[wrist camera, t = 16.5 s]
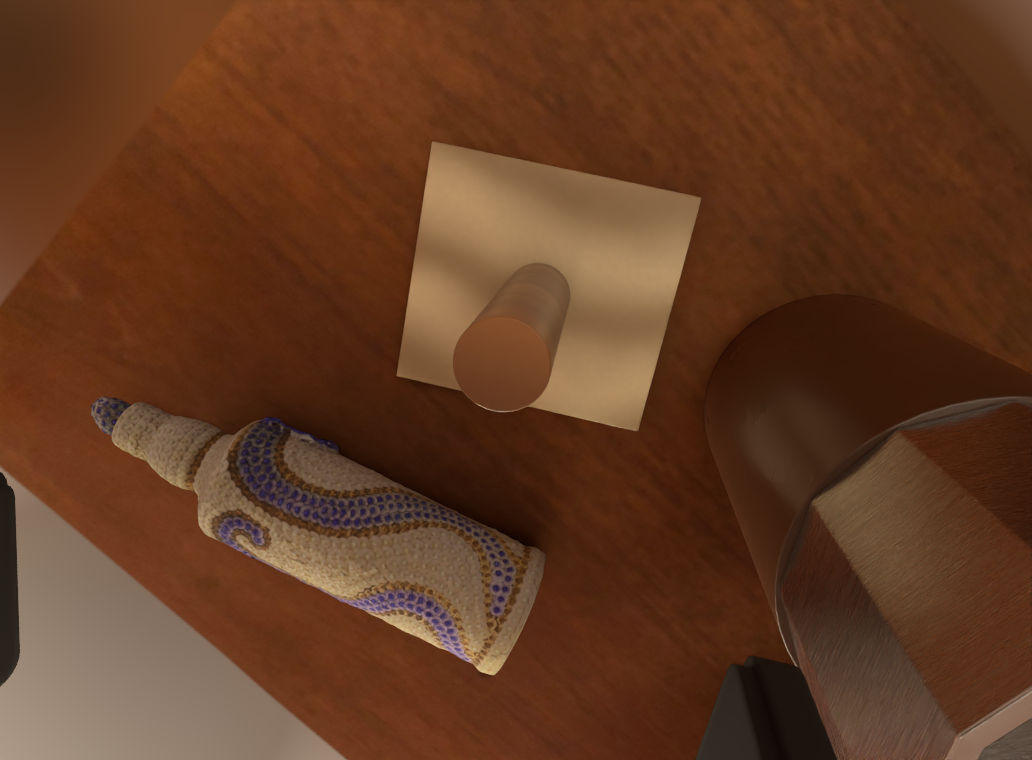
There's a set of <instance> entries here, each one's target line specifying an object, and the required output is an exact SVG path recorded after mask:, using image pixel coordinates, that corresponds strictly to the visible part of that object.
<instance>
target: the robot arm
mask: <svg viewBox="0 0 1032 760" xmlns="http://www.w3.org/2000/svg"><path fill="white" fill-rule="evenodd" d="M15 517H16V516H15V495H14V491H13V489H12V488H11V487H10V486H8V485H7V480H6V478H5V477H4V475H3V473H1V472H0V686H1V685H2V684H3V683H4V682H5V681H6V680H7V679H8V678H9V677H10V675H11V674H12V672H13V671H14V669H15V667H16V665H17V662H18V659H19V653H20V643H19V615H18V613H19V612H18V580H17V548H16V518H15ZM695 760H837V757H836V755H835V752H834V750H833V747H832V745H831V742H830V740H829V737H828V734H827V732H826V729H825V727H824V724H823V722H822V719H821V717H820V714H819V712H818V709H817V707H816V704H815V702H814V699H813V696H812V694H811V691H810V689H809V686H808V684H807V681H806V679H805V676H804V674H803V672H802V671H801V669H800V668H798V667H797V666H793V665H789V664H785V663H781V662H777V661H773V660H769V659H765V658H761V657H757V656H749V657H748V658H747V660H746V661H745V663H744V665H743V666H741V665H737V664H731V666H730V667H729V668H728V670H727V673H726V675H725V678H724V681H723V683H722V686H721V689H720V692H719V695H718V697H717V700H716V703H715V706H714V709H713V711H712V714H711V717H710V720H709V722H708V725H707V728H706V731H705V734H704V736H703V739H702V742H701V745H700V748H699V750H698V753H697V756H696V759H695Z"/></svg>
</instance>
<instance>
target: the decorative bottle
mask: <svg viewBox="0 0 1032 760" xmlns="http://www.w3.org/2000/svg"><path fill="white" fill-rule="evenodd" d="M91 409H92V413H91V415H92V417H93V418H94V420H95V421H96V423H97V425H98V426H99V427H100V429H101V430H102V431H103V432H104V433H107V434H110V435H112V441H113V443H114V444H115V445H116V446H118V447H119V448H120V449H122V450H123V451H126V452H129V453H130V454H132V455H133V456H135V457H138V458H140V459H143V460H145V461H147V462H148V463H149V465H150V466H151V467H152V468H153V469H154V470H155V471H156V472H157V473H158V474H159V475H160V476H161V477H163V478H164V479H166V480H167V481H169V482H170V483H171V484H173V485H175V486H177V487H180V488H182V489H186V490H191V491H195V492H196V494H197V495H198V502H199V504H198V521H199V526H200V528H201V529H202V530H203V532H204V533H205V534H206V535H207V536H210V537H212V538H214V539H216V540H218V541H221V542H223V543H225V544H227V545H229V546H231V547H233V548H234V549H236V550H239V551H241V552H243V553H244V554H246V555H248V556H250V557H252V558H254V559H257V560H259V561H262V562H264V563H266V564H268V565H270V566H272V567H274V568H276V569H277V570H279V571H281V572H284V573H286V574H289V575H291V576H294V577H296V578H297V579H298V580H300V581H302V582H304V583H306V584H309V585H311V586H314V587H316V588H318V589H320V590H321V591H323V592H325V593H328V594H330V595H331V596H333V597H335V598H336V599H338V600H340V601H341V602H347V603H348V604H350V605H352V606H354V607H356V608H360V609H363V610H365V611H366V612H368V613H370V614H371V615H373V616H376V617H379V618H381V619H383V620H385V621H386V622H387V623H389V624H392V625H394V626H396V627H397V628H399V629H401V630H403V631H405V632H409V633H410V634H411V635H414V636H417V637H419V638H421V639H423V640H425V641H427V642H429V643H431V644H433V645H435V646H437V647H438V648H442V649H445V650H448V651H450V652H451V653H453V654H455V655H456V656H458V657H459V658H461V659H463V660H465V661H468V662H470V663H472V664H473V665H474V666H475V667H476V668H477V669H478V670H479V671H480V672H483V673H486V674H489V675H495V674H496V673H497V672H498V671H499V669H500V668H501V667H502V665H503V664H504V662H505V660H506V659H507V657H508V655H509V654H510V652H511V650H512V648H513V646H514V645H515V643H516V641H517V639H518V637H519V635H520V633H521V631H522V629H523V626H524V624H525V622H526V620H527V618H528V616H529V613H530V611H531V608H532V606H533V603H534V601H535V598H536V595H537V592H538V589H539V586H540V583H541V580H542V577H543V570H544V564H545V559H546V554H544V553H543V552H542V551H540V550H539V549H537V548H536V547H530V546H524V545H522V544H521V543H519V542H518V541H517V540H513V539H512V538H510V537H508V536H507V535H505V534H502V533H499V532H498V531H497V530H496V529H493V528H489V527H487V526H485V525H483V524H481V523H479V522H477V521H474V520H472V519H470V518H468V517H466V516H464V515H461V514H459V513H458V512H457V511H455V510H452V509H450V508H447V507H445V506H443V505H441V504H439V503H437V502H435V501H433V500H431V499H429V498H427V497H425V496H423V495H421V494H419V493H418V492H415V491H413V490H411V489H409V488H406V487H404V486H402V485H401V484H399V483H396V482H394V481H392V480H390V479H388V478H386V477H384V476H383V475H381V474H379V473H377V472H375V471H374V470H371V469H369V468H366V467H364V466H362V465H360V464H358V463H356V462H354V461H352V460H350V459H348V458H346V457H344V456H341V455H339V447H338V446H337V445H336V444H334V443H333V442H332V441H327V440H323V439H316V438H315V437H314V436H313V435H312V434H309V433H305V432H301V431H299V430H297V429H294V428H292V427H290V426H288V425H285V424H284V423H283V422H282V421H281V420H280V419H278V418H271V417H266V418H265V419H263V420H257V421H255V422H252V423H250V424H249V425H247V426H246V427H244V428H242V429H241V430H239V431H238V432H237V433H236V434H235V435H230V434H226V433H225V432H223V431H222V430H221V429H219V428H218V427H216V426H214V425H211V424H209V423H207V422H204V421H201V420H197V419H192V418H186V417H182V416H173V415H171V414H169V413H167V412H165V411H163V410H161V409H159V408H157V407H155V406H153V405H149V404H146V403H143V402H138V403H134V404H133V405H130V404H128V403H126V402H124V401H122V400H120V399H117V398H110V397H101V398H100V399H98V400H96V401H95V402H94V403H93V404H92V406H91ZM274 422H275V423H274ZM289 429H290V430H289Z"/></svg>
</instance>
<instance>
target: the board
mask: <svg viewBox="0 0 1032 760" xmlns="http://www.w3.org/2000/svg"><path fill="white" fill-rule="evenodd" d="M701 199H702V198H701V197H698V196H694V195H689V194H684V193H679V192H675V191H670V190H665V189H660V188H656V187H651V186H646V185H641V184H636V183H632V182H627V181H622V180H617V179H613V178H608V177H603V176H598V175H594V174H589V173H584V172H579V171H574V170H570V169H565V168H560V167H555V166H551V165H546V164H541V163H536V162H531V161H527V160H522V159H517V158H512V157H508V156H503V155H498V154H493V153H488V152H484V151H479V150H474V149H469V148H465V147H460V146H455V145H450V144H445V143H441V142H435V141H432V145H431V151H430V158H429V164H428V171H427V178H426V184H425V191H424V197H423V204H422V211H421V217H420V224H419V230H418V237H417V244H416V250H415V257H414V263H413V270H412V277H411V283H410V290H409V296H408V303H407V310H406V316H405V323H404V329H403V336H402V343H401V349H400V356H399V362H398V369H397V376H398V377H402V378H407V379H411V380H416V381H420V382H424V383H429V384H433V385H437V386H442V387H446V388H450V389H455V390H459V391H462V390H461V388H460V387H459V385H458V383H457V381H456V378H455V375H454V370H453V354H454V350H455V347H456V344H457V342H458V340H459V338H460V337H461V335H462V334H463V333H464V331H465V330H466V329H467V328H468V327H469V326H470V324H471V323H472V322H473V321H474V320H475V319H476V317H477V316H478V315H479V314H480V313H481V311H482V310H483V309H484V308H485V307H486V306H487V304H488V303H489V302H490V301H491V300H492V299H493V297H494V296H495V295H496V294H497V293H498V292H499V290H500V289H501V288H502V287H503V286H504V285H505V283H506V282H507V281H508V280H509V279H510V278H511V276H512V275H513V274H514V273H515V272H516V271H517V270H518V269H520V268H521V267H523V266H525V265H528V264H532V263H543V264H547V265H550V266H552V267H554V268H556V269H557V270H558V271H560V272H561V273H562V274H563V276H564V277H565V279H566V281H567V283H568V285H569V289H570V301H569V306H568V310H567V313H566V317H565V321H564V325H563V329H562V333H561V337H560V341H559V345H558V348H557V352H556V356H555V360H554V364H553V368H552V372H551V376H550V379H549V382H548V384H547V387H546V389H545V390H544V392H543V393H542V394H541V396H540V397H539V398H538V399H537V400H536V401H535V402H533V403H532V404H530V405H529V407H533V408H538V409H542V410H546V411H551V412H555V413H559V414H564V415H568V416H572V417H577V418H581V419H585V420H590V421H594V422H599V423H603V424H607V425H612V426H616V427H620V428H625V429H629V430H633V431H638V430H639V426H640V422H641V419H642V415H643V411H644V408H645V404H646V400H647V397H648V393H649V389H650V386H651V382H652V378H653V375H654V371H655V367H656V364H657V360H658V356H659V353H660V349H661V345H662V342H663V338H664V334H665V331H666V327H667V323H668V320H669V316H670V313H671V309H672V305H673V302H674V298H675V294H676V291H677V287H678V283H679V280H680V276H681V272H682V269H683V265H684V261H685V258H686V254H687V250H688V247H689V243H690V239H691V236H692V232H693V228H694V225H695V221H696V217H697V214H698V210H699V206H700V203H701Z"/></svg>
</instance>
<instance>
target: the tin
mask: <svg viewBox="0 0 1032 760" xmlns="http://www.w3.org/2000/svg"><path fill="white" fill-rule="evenodd" d="M704 423H705V431H706V436H707V440H708V443H709V446H710V449H711V451H712V454H713V457H714V459H715V462H716V465H717V467H718V470H719V473H720V475H721V478H722V481H723V483H724V486H725V488H726V491H727V494H728V496H729V499H730V502H731V504H732V507H733V510H734V512H735V515H736V517H737V520H738V523H739V525H740V528H741V531H742V533H743V536H744V539H745V541H746V544H747V546H748V549H749V552H750V554H751V557H752V560H753V562H754V565H755V568H756V570H757V573H758V575H759V578H760V581H761V583H762V586H763V589H764V591H765V594H766V597H767V599H768V602H769V604H770V607H771V610H772V612H773V615H774V618H775V620H776V623H777V626H778V628H779V631H780V633H781V636H782V639H783V641H784V644H785V647H786V649H787V651H788V653H789V655H790V656H791V658H792V660H793V662H794V664H795V666H797V667H798V668H800V669H801V671H802V672H803V674H804V676H805V679H806V681H807V684H808V686H809V689H810V691H811V694H812V696H813V699H814V702H815V704H816V707H817V709H818V712H819V714H820V717H821V719H822V722H823V724H824V727H825V729H826V732H827V734H828V737H829V740H830V742H831V745H832V747H833V750H834V752H835V755H836V757H837V760H1032V374H1031V373H1029V372H1027V371H1025V370H1023V369H1021V368H1018V367H1016V366H1014V365H1012V364H1010V363H1008V362H1006V361H1004V360H1002V359H1000V358H998V357H996V356H993V355H991V354H989V353H987V352H985V351H983V350H981V349H979V348H977V347H975V346H973V345H971V344H969V343H966V342H964V341H962V340H960V339H958V338H956V337H954V336H952V335H950V334H948V333H946V332H944V331H942V330H939V329H937V328H935V327H933V326H931V325H929V324H927V323H925V322H923V321H921V320H919V319H917V318H915V317H912V316H910V315H908V314H906V313H904V312H902V311H900V310H898V309H896V308H894V307H891V306H889V305H887V304H884V303H882V302H880V301H876V300H873V299H869V298H866V297H859V296H853V295H832V294H831V295H822V296H813V297H809V298H805V299H800V300H797V301H794V302H791V303H788V304H785V305H783V306H780V307H778V308H776V309H774V310H772V311H770V312H768V313H766V314H765V315H763V316H762V317H760V318H759V319H757V320H756V321H754V322H753V323H752V324H750V325H749V326H748V327H747V328H746V329H745V330H743V331H742V332H741V333H740V334H739V335H738V336H737V337H736V338H735V339H734V341H733V342H732V343H731V344H730V345H729V346H728V348H727V349H726V351H725V352H724V353H723V355H722V356H721V358H720V359H719V361H718V363H717V365H716V367H715V369H714V371H713V373H712V376H711V379H710V381H709V384H708V388H707V392H706V397H705V406H704Z"/></svg>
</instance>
